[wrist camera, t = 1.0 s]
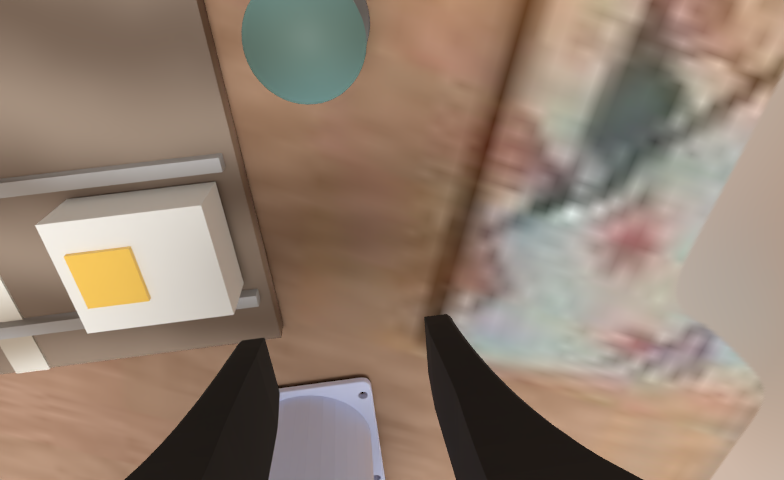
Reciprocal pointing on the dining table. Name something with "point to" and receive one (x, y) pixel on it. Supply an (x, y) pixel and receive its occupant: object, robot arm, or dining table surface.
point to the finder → (144, 256)
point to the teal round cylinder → (306, 46)
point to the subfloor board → (113, 163)
